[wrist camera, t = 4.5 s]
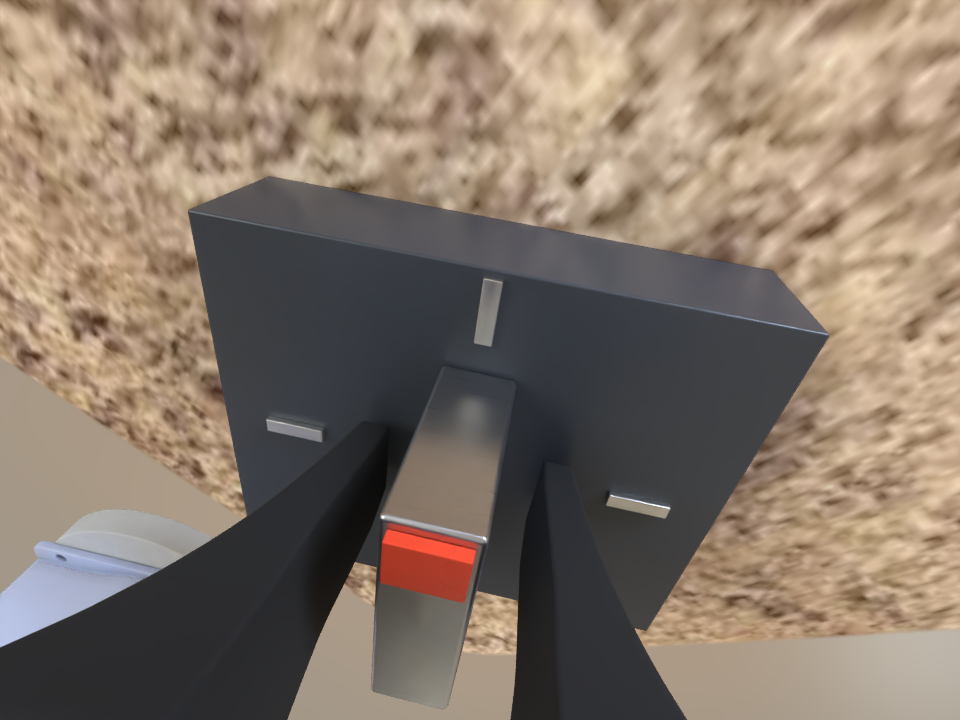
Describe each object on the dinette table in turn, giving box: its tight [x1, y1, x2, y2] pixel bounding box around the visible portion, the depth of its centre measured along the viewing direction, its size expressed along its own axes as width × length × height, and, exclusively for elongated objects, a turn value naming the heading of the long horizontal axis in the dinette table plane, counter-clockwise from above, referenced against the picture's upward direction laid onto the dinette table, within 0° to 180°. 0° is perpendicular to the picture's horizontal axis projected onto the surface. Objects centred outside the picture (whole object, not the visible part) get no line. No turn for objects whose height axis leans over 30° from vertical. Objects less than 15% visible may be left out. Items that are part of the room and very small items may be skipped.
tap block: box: [188, 176, 829, 631], centre depth 13 cm, size 12×10×3 cm
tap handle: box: [371, 366, 516, 710], centre depth 10 cm, size 6×2×4 cm, turn 171°
